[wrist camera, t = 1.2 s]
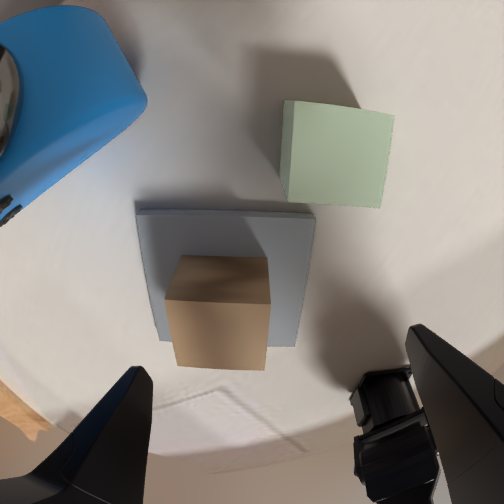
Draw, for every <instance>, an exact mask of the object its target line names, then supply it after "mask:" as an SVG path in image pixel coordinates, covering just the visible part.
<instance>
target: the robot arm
mask: <svg viewBox="0 0 504 504" xmlns="http://www.w3.org/2000/svg"><path fill="white" fill-rule="evenodd" d="M405 346H406V351H407V355H408V358H409V362H410V366H411V368H404V369H396V370H388V371H380V372H370V373H366V374H365V375H364V376H363V378H362V380H361V382H360V384H359V386H358V388H357V389H356V391H355V393H354V395H353V397H352V399H351V401H350V403H351V405H352V406H353V408H354V412H355V417H356V421H357V425H358V426H359V427H362V429H363V435H360V436H359V435H358V436H355V437H354V443H353V445H354V460H355V467H354V475H355V476H357V477H359V479H360V481H361V483H362V484H363V485H365V486H366V491H367V496H368V497H369V498H370V499H371V501H373V502H376V503H377V504H434V503H433V499H432V498H433V495H434V492H435V489H436V486H437V483H438V479H439V476H440V473H441V469H440V466H439V463H438V459H437V456H440V459H441V463H442V466H443V470H444V473H445V477H446V481H447V483H448V489H449V493H450V498H451V502H452V504H504V384H502V383H501V382H500V381H498V380H497V379H494V377H493V376H492V375H490V374H489V373H488V372H486V371H485V370H484V369H483V368H481V367H480V366H479V365H477V364H476V363H475V362H473V361H472V360H471V359H469V358H468V357H467V356H465V355H464V354H462V353H461V352H460V351H458V350H457V349H456V348H454V347H453V346H452V345H450V344H449V343H447V342H446V341H445V340H443V339H442V338H441V337H439V336H438V335H436V334H435V333H434V332H432V331H431V330H429V329H428V328H427V327H425V326H424V325H422V324H416V325H412V326H410V327H409V329H408V334H407V338H406V343H405ZM412 373H413V377H414V381H415V384H416V388H417V391H418V394H419V396H420V399H421V402H422V404H423V407H422V408H421V409H420V407H419V405H418V402H417V399H416V397H415V394H414V392H413V389H412V387H411V384H410V382H409V378H410V376H411V375H412ZM152 402H153V381H152V379H151V377H150V376H149V375H148V373H147V372H146V370H145V369H144V368H143V367H142V366H131V367H130V368H129V369H128V370H127V371H126V372H125V373H124V375H123V376H122V377H121V378H120V379H119V380H118V381H117V382H116V383H115V384H114V386H113V387H112V388H111V389H110V390H109V391H108V392H107V393H106V394H105V396H104V397H103V398H102V399H101V400H100V401H99V402H98V403H97V404H96V406H95V407H94V408H93V409H92V410H91V411H90V412H89V413H88V414H87V416H86V417H85V418H84V419H83V420H82V421H81V422H80V423H79V424H78V426H77V427H76V428H75V429H74V430H73V432H71V433H70V435H69V436H68V437H67V438H66V439H65V440H64V441H63V442H62V443H61V444H60V445H59V446H58V447H57V449H55V450H54V451H53V452H52V453H51V454H50V455H49V456H48V457H47V458H46V459H45V460H44V461H43V462H42V463H40V464H39V465H38V466H37V467H36V468H35V469H34V470H33V471H31V472H30V473H28V474H26V475H24V476H21V477H14V478H8V479H1V480H0V504H143V496H144V484H145V473H146V465H147V456H148V447H149V439H150V432H151V424H152ZM426 424H428V426H424V425H426Z"/></svg>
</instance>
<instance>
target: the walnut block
mask: <svg viewBox="0 0 504 504" xmlns="http://www.w3.org/2000/svg"><path fill="white" fill-rule="evenodd" d="M164 302H165V308H166V313H167V318H168V323H169V328H170V333H171V338H172V343H173V348H174V352H175V357H176V361H177V365H178V366H184V367H196V368H211V369H229V370H265V360H266V351H267V341H268V332H269V322H270V311H271V295H270V282H269V270H268V258H262V257H230V256H200V255H181V257H180V260H179V262H178V265H177V267H176V270H175V272H174V275H173V277H172V280H171V283H170V285H169V288H168V291H167V293H166V296H165V299H164Z"/></svg>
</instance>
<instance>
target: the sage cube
mask: <svg viewBox="0 0 504 504" xmlns="http://www.w3.org/2000/svg"><path fill="white" fill-rule="evenodd" d="M393 123H394V115H390V114H385V113H380V112H375V111H369V110H364V109H358V108H352V107H345V106H338V105H331V104H323V103H314V102H304V101H293V100H284V107H283V125H282V142H281V159H280V174H279V176H280V180H281V183H282V186H283V189H284V192H285V195H286V198H287V202H294V203H313V204H329V205H344V206H357V207H369V208H380V206H381V201H382V196H383V191H384V185H385V180H386V174H387V167H388V161H389V154H390V147H391V140H392V132H393Z"/></svg>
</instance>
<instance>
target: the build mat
mask: <svg viewBox="0 0 504 504" xmlns="http://www.w3.org/2000/svg"><path fill="white" fill-rule="evenodd" d="M136 218H137V226H138V233H139V239H140V246H141V252H142V258H143V264H144V270H145V275H146V280H147V285H148V291H149V295H150V300H151V305H152V310H153V314H154V319H155V323H156V327H157V332H158V336H159V340H160V341H169V342H172V338H171V333H170V328H169V323H168V318H167V313H166V308H165V302H164V299H165V296H166V293H167V291H168V288H169V285H170V283H171V280H172V277H173V275H174V272H175V270H176V267H177V265H178V262H179V260H180V257H181V255H200V256H230V257H262V258H268V270H269V282H270V295H271V311H270V322H269V332H268V341H267V347H295V343H296V338H297V333H298V328H299V322H300V317H301V312H302V306H303V300H304V294H305V289H306V283H307V276H308V270H309V264H310V257H311V251H312V244H313V237H314V230H315V223H316V219H315V216H314V214H311V213H290V212H267V211H236V210H181V209H141V210H140V211H139V212H138V213H137V214H136Z"/></svg>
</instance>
